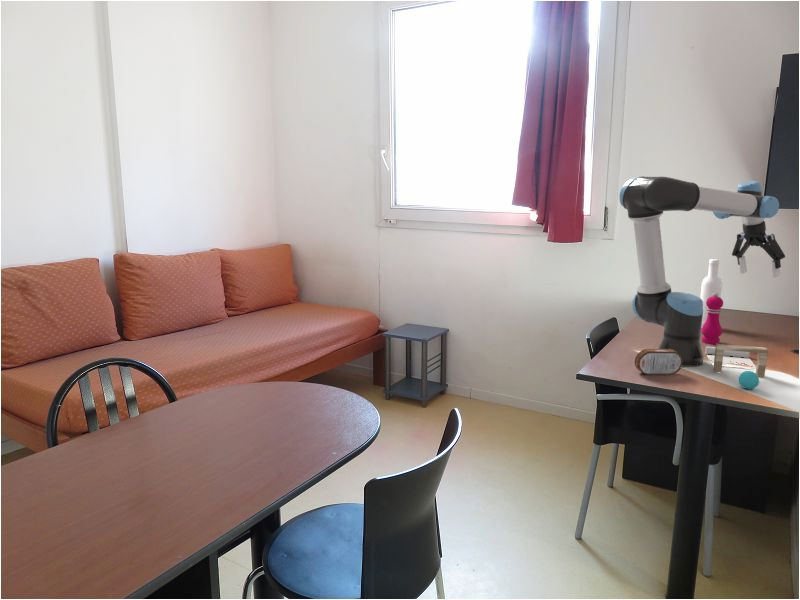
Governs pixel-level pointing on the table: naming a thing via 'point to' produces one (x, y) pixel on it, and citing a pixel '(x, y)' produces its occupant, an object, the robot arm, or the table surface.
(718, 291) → the bottle
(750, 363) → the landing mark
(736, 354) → the stopper wall
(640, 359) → the tin
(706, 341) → the pepper mill
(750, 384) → the ball
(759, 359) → the bridge
